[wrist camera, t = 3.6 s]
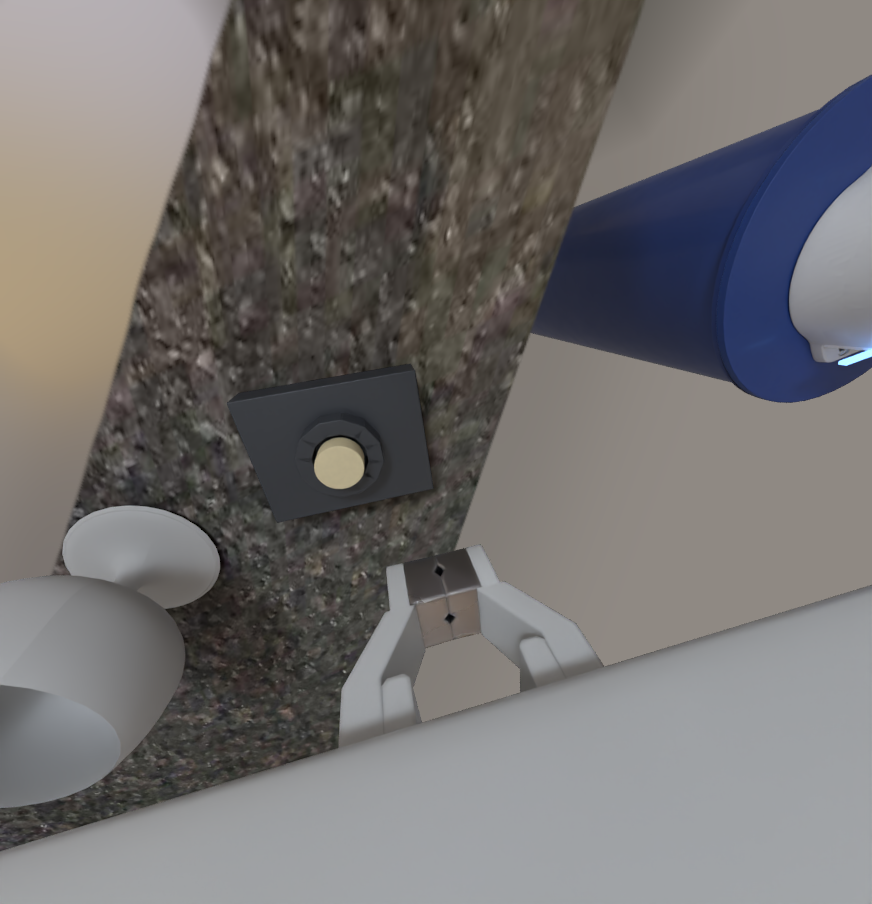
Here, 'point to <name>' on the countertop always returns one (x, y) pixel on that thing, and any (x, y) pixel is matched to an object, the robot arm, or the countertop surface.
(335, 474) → the push button switch
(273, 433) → the push button plate
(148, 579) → the chalice
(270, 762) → the countertop surface
